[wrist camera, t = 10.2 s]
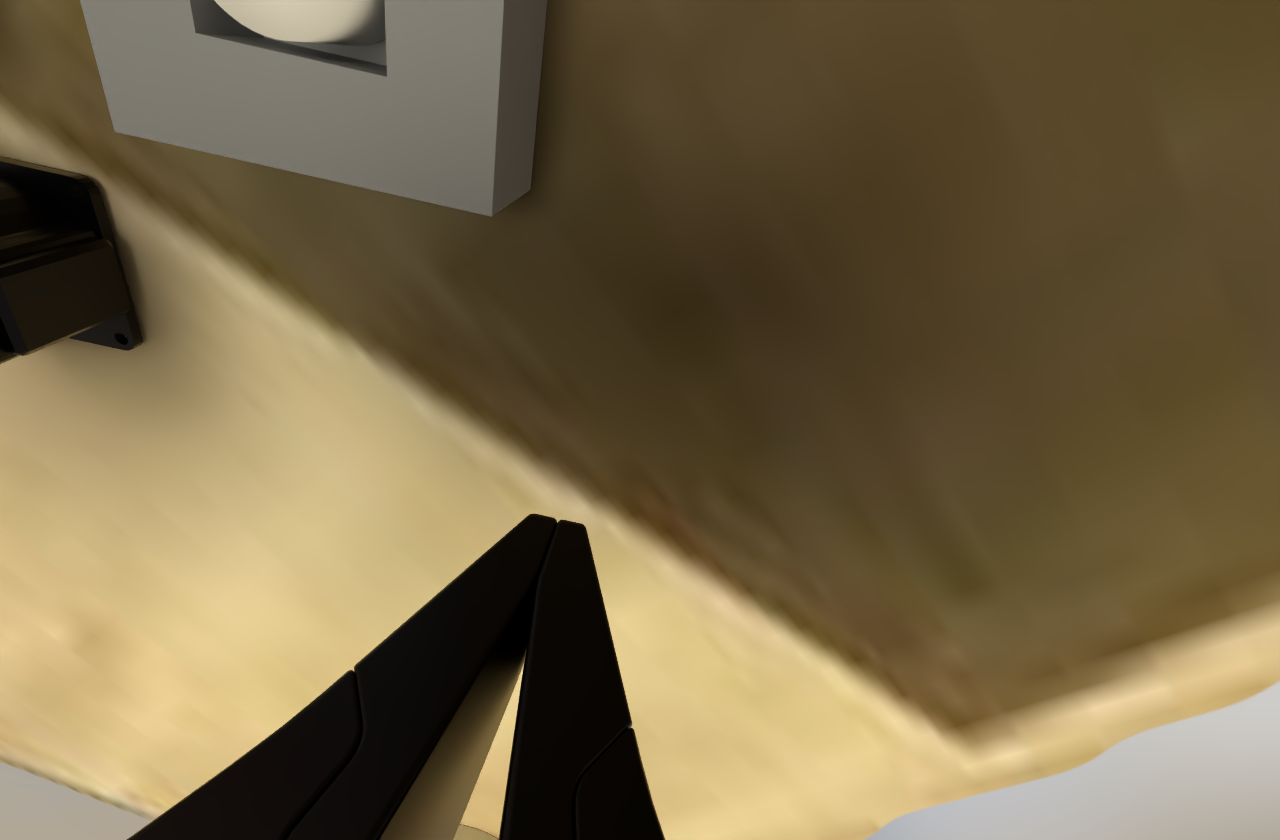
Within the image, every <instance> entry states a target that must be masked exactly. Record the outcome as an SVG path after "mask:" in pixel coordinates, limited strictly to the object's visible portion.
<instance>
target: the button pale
mask: <svg viewBox="0 0 1280 840" xmlns="http://www.w3.org/2000/svg"><path fill="white" fill-rule="evenodd" d="M214 1H215V2H216V3H217V4H218V5H219V6H220V7H221V8H222V9H223V10H224V11H226V12H227V13H228V14H229V15H230V16H231V17H233V18H234V19H235V20H237V21H238V22H239V23H241V24H242V25H244V26H246V27H247V28H249V29H250V30H252V31H254V32H257V33H259V34H261V35H263V36H266V37H269V38H273V39H277V40H283V41H294V42H310V43H325V44H340V45H369V44H374V43H377V42H379V41H382V40H383V39H385V38H386V30H385V1H384V0H214Z"/></svg>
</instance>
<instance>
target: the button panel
mask: <svg viewBox="0 0 1280 840" xmlns="http://www.w3.org/2000/svg"><path fill="white" fill-rule="evenodd" d="M384 1H385V30H386V38H385V39H383V40H382V41H379V42H377V43H374V44H369V45H340V44H325V43H310V42H294V41H283V40H277V39H273V38H269V37H266V36H263V35H261V34H259V33H257V32H254V31H252V30H250V29H249V28H247V27H246V26H244V25H242V24H241V23H239V22H238V21H237V20H235V19H234V18H233V17H231V16H230V15H229V14H228V13H227V12H226V11H224V10H223V9H222V8H221V7H220V6H219V5H218V4H217V3H216V2H215V1H214V0H80V2H81V6H82V9H83V13H84V17H85V21H86V25H87V28H88V32H89V36H90V40H91V43H92V47H93V51H94V55H95V59H96V62H97V66H98V70H99V74H100V77H101V81H102V85H103V89H104V93H105V96H106V100H107V104H108V108H109V112H110V115H111V119H112V123H113V127H114V130H115V132H118V133H123V134H127V135H131V136H136V137H140V138H145V139H149V140H154V141H158V142H162V143H167V144H171V145H176V146H180V147H185V148H189V149H193V150H198V151H202V152H207V153H211V154H216V155H220V156H225V157H229V158H233V159H238V160H242V161H247V162H251V163H256V164H260V165H264V166H269V167H273V168H278V169H282V170H287V171H291V172H295V173H300V174H304V175H309V176H313V177H318V178H322V179H326V180H331V181H335V182H340V183H344V184H349V185H353V186H357V187H362V188H366V189H371V190H375V191H380V192H384V193H388V194H393V195H397V196H402V197H406V198H411V199H415V200H419V201H424V202H428V203H433V204H437V205H442V206H446V207H451V208H455V209H459V210H464V211H468V212H473V213H477V214H482V215H486V216H490V217H492V216H494V215H495V214H496V213H498V212H499V211H501V210H502V209H504V208H505V207H506V206H508V205H509V204H511V203H512V202H514V201H515V200H517V199H518V198H519V197H521V196H522V195H524V194H525V193H527V192H528V191H529V190H531V178H532V167H533V156H534V145H535V134H536V122H537V111H538V100H539V89H540V78H541V66H542V55H543V44H544V33H545V22H546V10H547V0H384Z"/></svg>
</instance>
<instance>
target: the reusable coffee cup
mask: <svg viewBox="0 0 1280 840" xmlns="http://www.w3.org/2000/svg"><path fill="white" fill-rule="evenodd" d="M453 840H499V839H497V838H496V837H494V836H492V835H490V834H488V833H485V832H483V831H480V830H478V829H475V828H471V827H468V826H464V825H459V827H458V829H457V832H456V834H455V837H454V839H453Z"/></svg>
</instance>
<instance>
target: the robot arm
mask: <svg viewBox="0 0 1280 840" xmlns="http://www.w3.org/2000/svg"><path fill="white" fill-rule="evenodd" d="M79 189H80V190H81V191H82V193H83V194H82V193H81V192H80V190H79ZM125 336H126V337H125ZM66 338H71V339H76V340H80V341H85V342H89V343H94V344H99V345H103V346H108V347H112V348H117V349H122V350H131V349H133V348H135V347H138V346H140V345H141V344H142V342H143V337H142V334H141V330H140V327H139V323H138V320H137V317H136V313H135V310H134V306H133V303H132V299H131V296H130V293H129V289H128V286H127V282H126V279H125V275H124V272H123V269H122V265H121V262H120V258H119V255H118V251H117V248H116V244H115V241H114V238H113V234H112V231H111V227H110V224H109V220H108V217H107V214H106V210H105V207H104V203H103V200H102V196H101V193H100V191H99V189H98V187H97V186H96V185H95V183H94V182H93V181H92V180H90V179H89V178H88V177H85V176H83V175H80V174H75V173H71V172H66V171H62V170H57V169H53V168H49V167H44V166H40V165H35V164H31V163H26V162H22V161H17V160H13V159H8V158H4V157H0V364H1V363H4V362H6V361H8V360H11V359H13V358H16V357H18V356H20V355H22V356H24V355H29V354H31V353H33V352H36V351H38V350H40V349H43V348H45V347H47V346H50V345H52V344H55V343H57V342H59V341H62V340H64V339H66ZM524 660H525V661H524ZM523 664H524V668H523V675H522V682H521V689H520V696H519V703H518V710H517V717H516V723H515V730H514V737H513V744H512V751H511V758H510V765H509V772H508V779H507V786H506V793H505V800H504V807H503V814H502V821H501V828H500V835H499V840H665V838H664V835H663V832H662V829H661V826H660V823H659V820H658V817H657V814H656V811H655V808H654V805H653V801H652V798H651V794H650V790H649V787H648V783H647V779H646V776H645V772H644V768H643V764H642V761H641V757H640V753H639V748H638V744H637V740H636V736H635V732H634V729H633V728H631V726H632V720H631V716H630V712H629V708H628V703H627V699H626V695H625V691H624V686H623V682H622V678H621V674H620V670H619V665H618V661H617V657H616V653H615V648H614V644H613V640H612V636H611V632H610V627H609V623H608V619H607V615H606V610H605V606H604V602H603V598H602V593H601V589H600V585H599V581H598V577H597V572H596V568H595V564H594V560H593V555H592V551H591V547H590V543H589V538H588V534H587V530H586V527H585V526H584V525H583V524H580V523H576V522H571V521H566V520H560V521H559V522H558V523H557V521H556V519H555V518H552V517H548V516H543V515H538V514H530V515H528V516H527V517H526V518H525V519H524V520H522V521H521V522H520V523H519V524H518V525H517V526H515V527H514V528H513V529H512V530H511V531H510V532H509V533H507V534H506V535H505V536H504V537H503V538H502V539H500V540H499V541H498V542H497V543H496V544H495V545H494V546H492V547H491V548H490V549H489V550H488V551H487V552H485V553H484V554H483V555H482V556H481V557H480V558H478V559H477V560H476V561H475V562H474V563H473V564H472V565H470V566H469V567H468V568H467V569H466V570H465V571H463V572H462V573H461V574H460V575H459V576H458V577H457V578H455V579H454V580H453V581H452V582H451V583H450V584H448V585H447V586H446V587H445V588H444V589H443V590H442V591H440V592H439V593H438V594H437V595H436V596H435V597H433V598H432V599H431V600H430V601H429V602H428V603H426V604H425V605H424V606H423V607H422V608H421V609H420V610H418V611H417V612H416V613H415V614H414V615H413V616H411V617H410V618H409V619H408V620H407V621H406V622H405V623H403V624H402V625H401V626H400V627H399V628H398V629H396V630H395V631H394V632H393V633H392V634H391V635H390V636H388V637H387V638H386V639H385V640H384V641H383V642H381V643H380V644H379V645H378V646H377V647H376V648H374V649H373V650H372V651H371V652H370V653H369V654H368V655H366V656H365V657H364V658H363V659H362V660H361V661H359V662H358V663H357V664H356V665H355V667H354V671H352V670H349V671H347V672H346V673H345V674H344V675H343V676H342V677H341V678H339V679H338V680H337V681H336V682H335V683H334V684H333V685H331V686H330V687H329V688H328V689H327V690H326V691H325V692H323V693H322V694H321V695H320V696H319V697H317V698H316V699H315V700H314V701H312V702H311V703H310V704H309V705H308V706H306V707H305V708H304V709H303V710H302V711H300V712H299V713H298V714H297V715H295V716H294V717H293V718H292V719H291V720H289V721H288V722H287V723H286V724H284V725H283V726H282V727H281V728H279V729H278V730H277V731H275V732H274V733H273V734H271V735H270V736H269V737H267V738H266V739H265V740H263V741H262V742H261V743H259V744H258V745H257V746H255V747H254V748H253V749H251V750H250V751H249V752H247V753H246V754H245V755H243V756H242V757H241V758H239V759H238V760H237V761H235V762H234V763H233V764H231V765H230V766H229V767H227V768H226V769H224V770H223V771H222V772H220V773H219V774H217V775H216V776H215V777H213V778H212V779H210V780H209V781H208V782H206V783H205V784H203V785H202V786H201V787H199V788H198V789H197V790H195V791H194V792H192V793H191V794H190V795H188V796H187V797H185V798H184V799H183V800H181V801H180V802H178V803H177V804H176V805H174V806H173V807H172V808H170V809H169V810H167V811H166V812H165V813H163V814H162V815H160V816H159V817H158V818H156V819H155V820H153V821H152V822H151V823H149V824H148V825H147V826H145V827H144V828H142V829H141V830H140V831H138V832H137V833H135V834H134V835H133V836H131V837H130V838H128V839H127V840H453V839H454V837H455V834H456V832H457V829H458V827H459V824H460V822H461V819H462V817H463V814H464V812H465V809H466V807H467V804H468V802H469V799H470V797H471V794H472V792H473V789H474V787H475V784H476V782H477V779H478V777H479V774H480V772H481V770H482V767H483V765H484V762H485V760H486V757H487V755H488V752H489V750H490V747H491V745H492V742H493V740H494V737H495V735H496V732H497V730H498V727H499V725H500V722H501V720H502V717H503V715H504V712H505V710H506V707H507V705H508V702H509V700H510V697H511V695H512V692H513V690H514V688H515V685H516V683H517V680H518V677H519V675H520V672H521V669H522V666H523Z"/></svg>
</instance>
